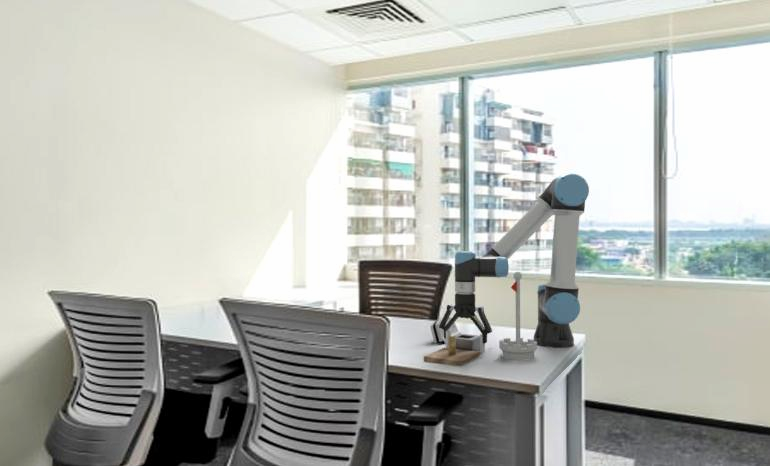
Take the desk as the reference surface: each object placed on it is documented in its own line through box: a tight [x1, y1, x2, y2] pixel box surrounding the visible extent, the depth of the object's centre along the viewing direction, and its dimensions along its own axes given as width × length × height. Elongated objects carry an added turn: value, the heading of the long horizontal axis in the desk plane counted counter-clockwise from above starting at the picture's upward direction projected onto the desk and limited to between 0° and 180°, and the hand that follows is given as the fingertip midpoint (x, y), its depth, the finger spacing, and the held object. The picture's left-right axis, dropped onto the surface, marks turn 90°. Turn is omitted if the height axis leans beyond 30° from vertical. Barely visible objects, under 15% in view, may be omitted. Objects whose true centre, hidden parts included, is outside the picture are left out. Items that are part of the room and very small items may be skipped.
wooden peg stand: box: [423, 336, 481, 367], centre depth 203 cm, size 14×16×8 cm
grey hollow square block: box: [454, 333, 480, 352], centre depth 216 cm, size 9×9×5 cm
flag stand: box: [498, 271, 538, 361], centre depth 205 cm, size 13×13×30 cm
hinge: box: [430, 316, 462, 345], centre depth 236 cm, size 17×5×10 cm, turn 149°
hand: (465, 349), depth 216 cm, fingers open, 13 cm apart
